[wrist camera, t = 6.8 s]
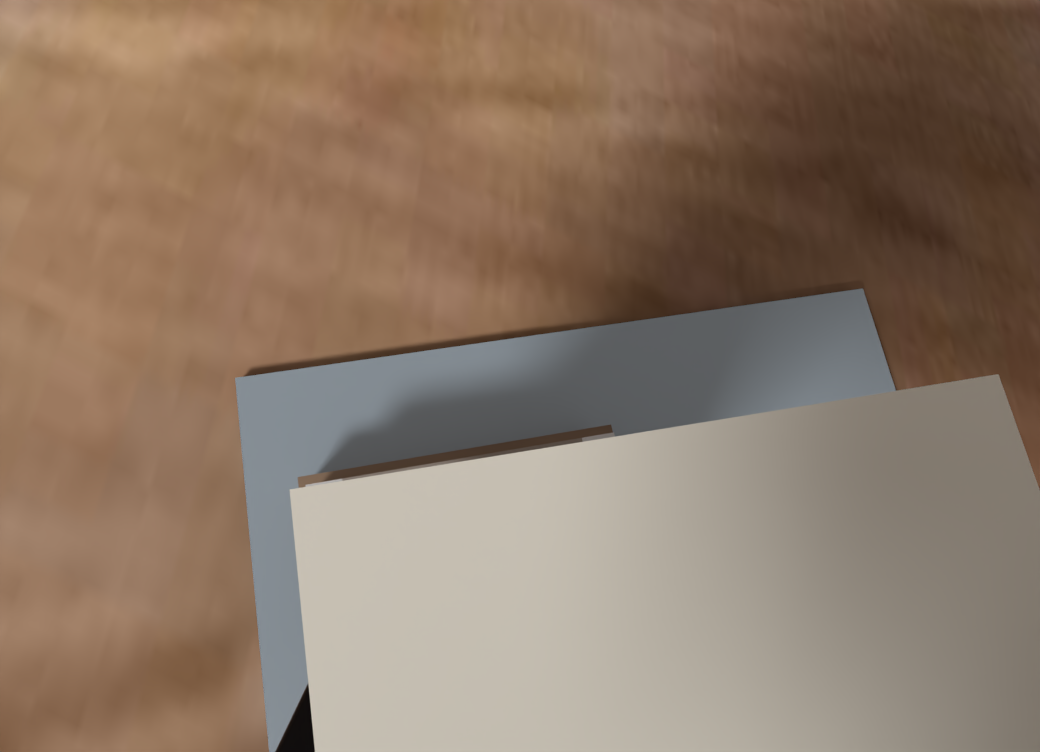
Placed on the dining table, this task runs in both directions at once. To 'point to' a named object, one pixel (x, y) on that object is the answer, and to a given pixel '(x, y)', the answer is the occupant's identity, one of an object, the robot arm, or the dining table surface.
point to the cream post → (690, 589)
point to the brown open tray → (459, 455)
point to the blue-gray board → (522, 414)
